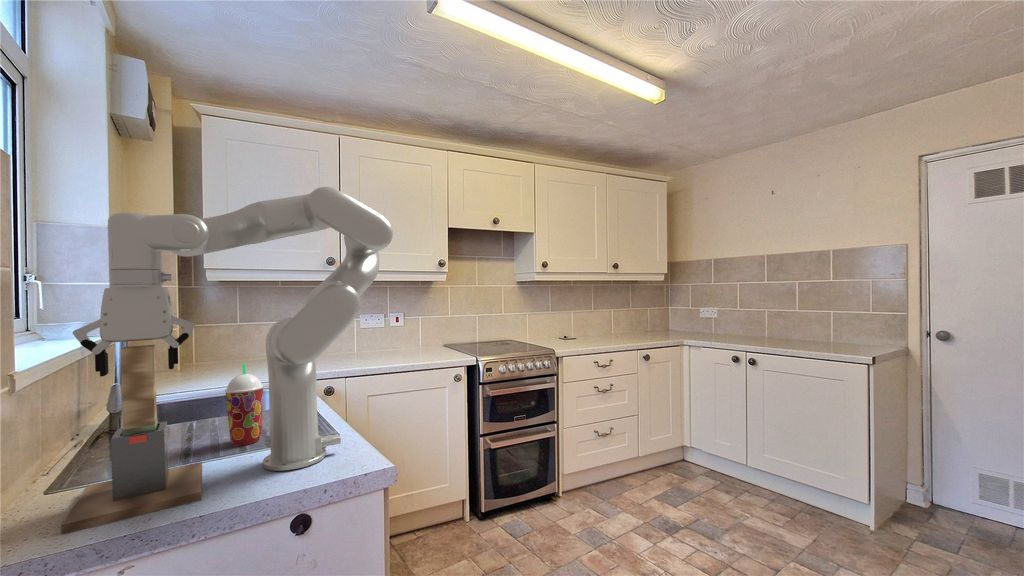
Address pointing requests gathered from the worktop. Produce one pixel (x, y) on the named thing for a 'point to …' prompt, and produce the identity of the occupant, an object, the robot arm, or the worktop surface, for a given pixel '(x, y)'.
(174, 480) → the base board
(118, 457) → the sleeve
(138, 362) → the post
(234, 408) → the smoothie
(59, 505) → the worktop surface
